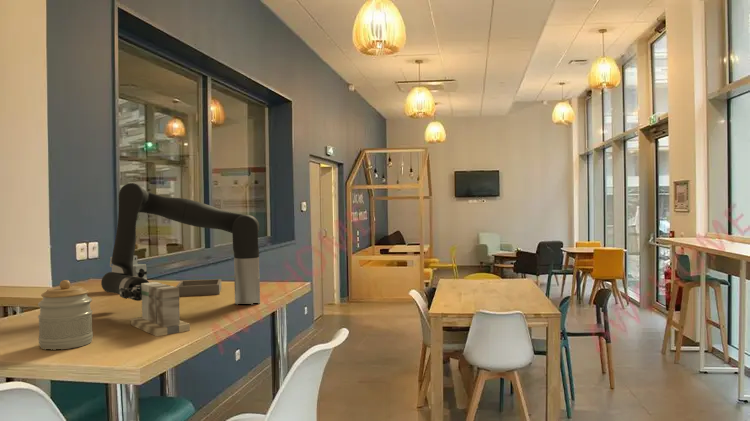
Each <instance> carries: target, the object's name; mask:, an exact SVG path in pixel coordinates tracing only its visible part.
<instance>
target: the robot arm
mask: <svg viewBox="0 0 750 421" xmlns="http://www.w3.org/2000/svg"><path fill="white" fill-rule="evenodd" d="M138 213H143V214H150V215H157V216H159V217H163V218H165V219H168V220H171V221H174V222H178V223H181V224H184V225H188V226H192V227H197V228H205V229H212V230H213V229H214V230H221V231H224V232H228V233H231V234H232V249H233V263H234V266H233V267H234V268H233V269H234V270H233V271H234V304H235V305H238V304H251V305H254V304H253V303H258V304H261V284H260V283H261V280H260V250H259V232H260V227H261V226H260V222H259V221H258V219H257V218H256V217H255V216H253V215H251V214H243V213H237V212H231V211H226V210H223V209H221V208H218V207H215V206H212V205H210V204H206V203H204V202H199V201H196V200H193V199H190V198H189V199H188V198H183V197H167V196H161V195H159V194H156V193H153V192H150V191H147V190H146V189H145V188H143V186H141V185H139V184H138V183H134V182H133V183H132V182H131V183H126V184H124V185H123V186H122V187H121V188H120V190H119V192H118V216H117V226H116V234H115V239H114V245H113V249H112V250H113V251H112V255H111V257H112V261H111V262H112V264H111V265H112V266H113V265H115V266H118V267H121V268H122V270H123V273H124V274H123V273H116V272H112V271H109V272H107V273H106V274H104V275H103V276H102V278H101V280H100V281H101V283H100V284H101V288H102V290H104V292H106V293H113V294H118V295H119V297H120V298H123V299H125V300H126V299H129V300H133V301H137V302H139V301H140V302H142V294H141V290H142V286H141V283H150V281H148V279H147V280H146V279H144V278H140V277H137V276H134V274H133V258H134V256H135V252H136V243H137V231H136V229H137V228H136V227H137V218H138V215H139V214H138Z"/></svg>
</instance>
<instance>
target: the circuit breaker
mask: <svg viewBox="0 0 750 421" xmlns="http://www.w3.org/2000/svg"><path fill="white" fill-rule="evenodd" d="M109 259H110V261H109V268H111V272H116V273H123V270H122V268H121V267H118V266H115V265H113V264H112V262H111V261H112V256H110V257H109ZM147 272H148V270H147V264H146V263H144V264H143V263H138V255H134V258H133V274H134V276H137V277H140V278H144V279H146V280H147V281H148V278H147V277H148V275H147V274H148V273H147ZM123 274H124V273H123Z"/></svg>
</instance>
